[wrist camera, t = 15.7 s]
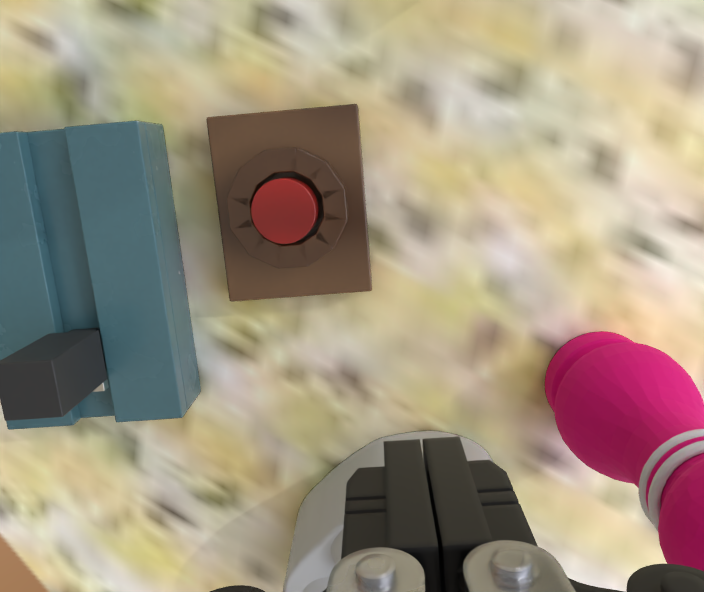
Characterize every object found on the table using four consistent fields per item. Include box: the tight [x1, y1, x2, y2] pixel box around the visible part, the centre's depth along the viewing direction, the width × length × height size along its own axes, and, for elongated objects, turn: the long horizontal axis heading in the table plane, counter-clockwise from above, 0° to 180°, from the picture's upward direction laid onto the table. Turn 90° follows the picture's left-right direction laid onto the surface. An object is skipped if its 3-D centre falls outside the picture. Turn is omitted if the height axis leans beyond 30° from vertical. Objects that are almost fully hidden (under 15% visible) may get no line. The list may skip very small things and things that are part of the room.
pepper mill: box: [545, 332, 704, 571], centre depth 28 cm, size 7×7×20 cm
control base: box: [0, 121, 201, 429], centre depth 35 cm, size 16×10×5 cm, turn 5°
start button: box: [251, 177, 318, 244], centre depth 32 cm, size 3×3×2 cm
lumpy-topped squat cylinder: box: [283, 431, 494, 592], centre depth 36 cm, size 10×13×9 cm
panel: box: [207, 104, 372, 301], centre depth 34 cm, size 10×8×4 cm
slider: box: [0, 328, 107, 421], centre depth 32 cm, size 3×3×6 cm
